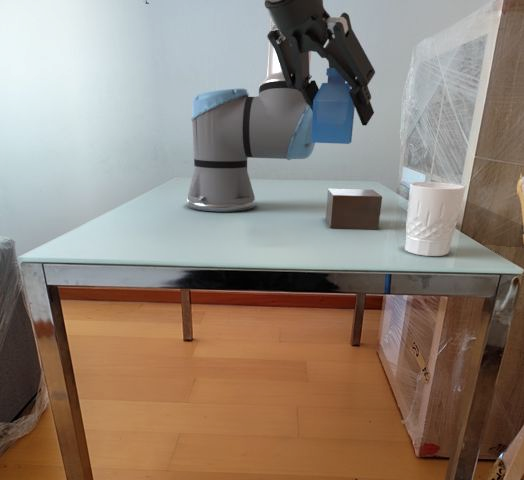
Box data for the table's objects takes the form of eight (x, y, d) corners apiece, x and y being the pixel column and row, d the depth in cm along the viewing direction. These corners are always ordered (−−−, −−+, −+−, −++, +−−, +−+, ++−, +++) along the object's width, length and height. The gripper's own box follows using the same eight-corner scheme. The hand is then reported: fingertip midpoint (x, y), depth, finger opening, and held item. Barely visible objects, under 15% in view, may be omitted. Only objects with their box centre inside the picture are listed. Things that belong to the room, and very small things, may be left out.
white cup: (462, 256, 73) (476, 188, 69) (415, 258, 72) (426, 189, 67) (435, 244, 80) (447, 181, 75) (392, 245, 78) (401, 181, 74)
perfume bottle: (310, 142, 79) (316, 57, 73) (315, 140, 84) (321, 61, 79) (348, 143, 77) (356, 57, 72) (351, 142, 83) (359, 61, 77)
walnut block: (325, 219, 98) (327, 188, 95) (369, 220, 98) (373, 189, 95) (330, 228, 90) (333, 195, 87) (378, 229, 90) (382, 196, 87)
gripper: (220, 13, 70) (287, 132, 87) (337, -7, 57) (389, 138, 74) (246, -24, 71) (308, 101, 88) (368, -53, 58) (412, 101, 75)
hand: (345, 118), depth 81 cm, fingers closed on perfume bottle, 8 cm apart
